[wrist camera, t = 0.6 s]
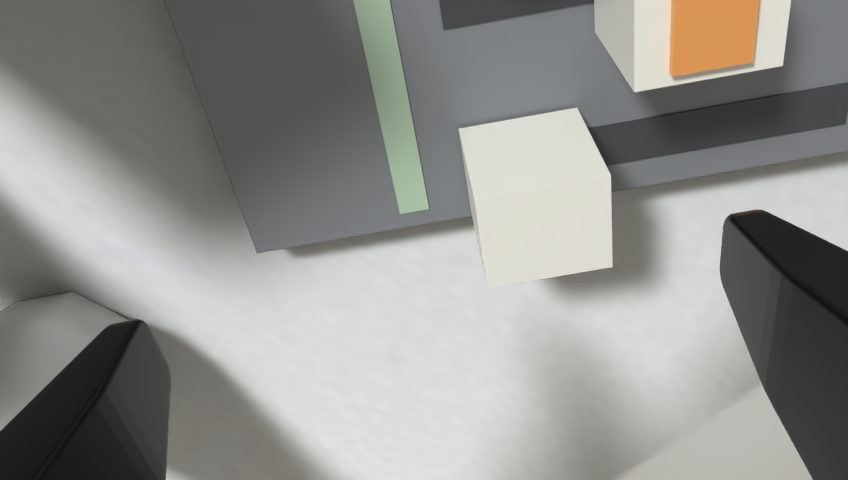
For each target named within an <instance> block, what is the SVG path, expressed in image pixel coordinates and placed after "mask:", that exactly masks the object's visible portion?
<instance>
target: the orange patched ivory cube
mask: <svg viewBox="0 0 848 480" xmlns="http://www.w3.org/2000/svg"><path fill="white" fill-rule="evenodd" d="M790 5H791V0H594V18H595V33H596V34H597V36H598V38H599V39H600V41H601V42H602V44H603V45H604V47H605V48H606V50H607V51H608V53H609V54H610V56H611V58H612V59H613V61H614V62H615V64H616V65H617V67H618V68H619V70H620V71H621V73H622V75H623V76H624V78H625V79H626V81H627V82H628V84H629V85H630V87H631V88H632V90H633V91H634V92H639V91H645V90H650V89H656V88H662V87H667V86H673V85H679V84H684V83H690V82H695V81H701V80H707V79H712V78H718V77H724V76H729V75H735V74H740V73H746V72H752V71H757V70H763V69H769V68H774V67H780V66H783V61H784V53H785V45H786V37H787V29H788V21H789V13H790Z"/></svg>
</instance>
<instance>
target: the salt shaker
mask: <svg viewBox="0 0 848 480" xmlns="http://www.w3.org/2000/svg"><path fill="white" fill-rule="evenodd" d="M123 321H129V320H128V319H127V318H125V317H123V316H121V315H119V314H117V313H115V312H113V311H111V310H109V309H107V308H105V307H103V306H101V305H99V304H97V303H95V302H93V301H91V300H89V299H87V298H85V297H83V296H81V295H79V294H77V293H75V292H68V293H63V294H57V295H52V296H46V297H41V298H35V299H30V300H24V301H19V302H15V303H13V304H11V305H10V306H8V307H6V308H5V309H3V310H1V311H0V431H1V430H2V429H3V428H4V427H5V426H6V425H7V424H8V423H9V422H10V421H11V420H12V419H13V418H14V417H15V416H16V415H17V414H18V413H19V412H20V411H21V410H22V409H23V408H24V407H25V406H26V405H27V404H28V403H29V402H30V401H31V400H32V399H33V398H34V397H35V396H36V395H37V394H38V393H39V392H40V391H41V390H42V389H43V388H44V387H45V386H46V385H47V384H48V383H49V382H50V381H51V380H52V379H53V378H54V377H55V376H57V375H58V374H59V373H60V372H61V371H62V370H63V369H64V368H65V367H66V366H67V365H68V364H69V363H70V362H71V361H72V360H73V359H74V358H75V357H76V356H77V355H78V354H79V353H80V352H81V351H82V350H83V349H84V348H85V347H86V346H87V345H88V344H89V343H90V342H91V341H92V340H93V339H94V338H95V337H96V336H97V335H98V334H99V333H100V332H101V331H102V330H103V329H104V328H106V327H107V326H108V325H110V324H113V323H118V322H123Z"/></svg>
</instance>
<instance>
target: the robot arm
mask: <svg viewBox="0 0 848 480" xmlns="http://www.w3.org/2000/svg"><path fill="white" fill-rule="evenodd" d="M720 276H721V281H722V285H723V288H724V290H725V293H726V295H727V298H728V300H729V303H730V305H731V308H732V310H733V313H734V315H735V318H736V320H737V323H738V325H739V328H740V331H741V333H742V336H743V338H744V341H745V343H746V346H747V348H748V351H749V353H750V356H751V358H752V361H753V363H754V366H755V368H756V371H757V373H758V376H759V378H760V380H761V383H762V385H763V387H764V390H765V392H766V393H767V396H768V398H769V399H770V401H771V403H772V405H773V407H774V409H775V411H776V413H777V415H778V416H779V418H780V420H781V422H782V424H783V425H784V427H785V429H786V431H787V433H788V435H789V436H790V438H791V440H792V442H793V444H794V445H795V447H796V449H797V451H798V453H799V455H800V457H801V459H802V460H803V462H804V464H805V466H806V468H807V469H808V471H809V473H810V475H811V477H812V479H813V480H848V251H846V250H844V249H842V248H840V247H838V246H836V245H834V244H832V243H830V242H828V241H826V240H824V239H822V238H820V237H818V236H816V235H813V234H811V233H809V232H807V231H805V230H803V229H801V228H799V227H797V226H795V225H793V224H791V223H789V222H787V221H785V220H783V219H781V218H778V217H776V216H774V215H772V214H770V213H768V212H766V211H763V210H752V211H746V212H740V213H735V214H731V215H729V216H728V217H727V218H726V219H725V222H724V225H723V235H722V246H721V258H720ZM170 391H171V376H170V370H169V367H168V364H167V362H166V360H165V358H164V356H163V354H162V352H161V350H160V348H159V346H158V344H157V342H156V340H155V338H154V336H153V334H152V332H151V330H150V328H149V327H148V325H147V324H146V323H145V322H144V321H142V320H139V319H135V320H129V321H123V322H118V323H113V324H110V325H108V326H107V327H106V328H104V329H103V330H102V331H101V332H100V333H99V334H98V335H97V336H96V337H95V338H94V339H93V340H92V341H91V342H90V343H89V344H88V345H87V346H86V347H85V348H84V349H83V350H82V351H81V352H80V353H79V354H78V355H77V356H76V357H75V358H74V359H73V360H72V361H71V362H70V363H69V364H68V365H67V366H66V367H65V368H64V369H63V370H62V371H61V372H60V373H59V374H58V375H57V376H55V377H54V378H53V379H52V380H51V381H50V382H49V383H48V384H47V385H46V386H45V387H44V388H43V389H42V390H41V391H40V392H39V393H38V394H37V395H36V396H35V397H34V398H33V399H32V400H31V401H30V402H29V403H28V404H27V405H26V406H25V407H24V408H23V409H22V410H21V411H20V412H19V413H18V414H17V415H16V416H15V417H14V418H13V419H12V420H11V421H10V422H9V423H8V424H7V425H6V426H5V427H4V428H3V429H2V430H1V431H0V480H166V466H167V447H168V428H169V409H170Z"/></svg>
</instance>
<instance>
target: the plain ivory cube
mask: <svg viewBox="0 0 848 480" xmlns="http://www.w3.org/2000/svg"><path fill="white" fill-rule="evenodd" d="M459 135H460V142H461V148H462V155H463V162H464V168H465V175H466V181H467V188H468V195H469V201H470V208H471V214H472V219H473V223H474V228H475V233H476V237H477V242H478V247H479V251H480V256H481V261H482V265H483V270H484V275H485V279H486V284H487V288H492V287H498V286H504V285H510V284H516V283H522V282H528V281H534V280H539V279H545V278H551V277H557V276H563V275H569V274H575V273H581V272H587V271H593V270H598V269H604V268H610V267H613V259H612V205H611V174H610V172H609V170H608V168H607V166H606V164H605V162H604V160H603V158H602V156H601V154H600V152H599V150H598V148H597V146H596V144H595V142H594V140H593V138H592V136H591V134H590V132H589V130H588V128H587V126H586V124H585V122H584V120H583V118H582V116H581V114H580V112H579V110H578V108H572V109H566V110H561V111H555V112H549V113H544V114H538V115H532V116H527V117H521V118H515V119H510V120H504V121H499V122H493V123H487V124H482V125H476V126H470V127H465V128H459Z"/></svg>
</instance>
